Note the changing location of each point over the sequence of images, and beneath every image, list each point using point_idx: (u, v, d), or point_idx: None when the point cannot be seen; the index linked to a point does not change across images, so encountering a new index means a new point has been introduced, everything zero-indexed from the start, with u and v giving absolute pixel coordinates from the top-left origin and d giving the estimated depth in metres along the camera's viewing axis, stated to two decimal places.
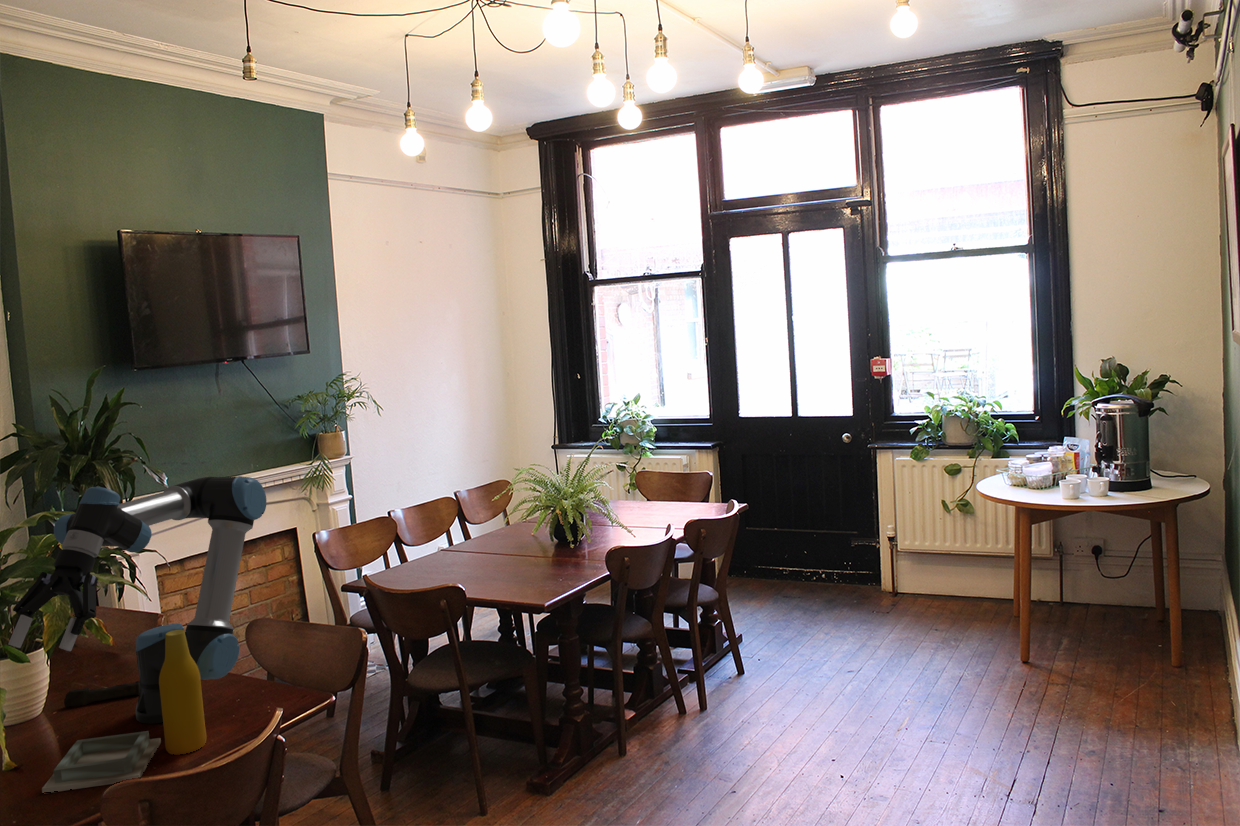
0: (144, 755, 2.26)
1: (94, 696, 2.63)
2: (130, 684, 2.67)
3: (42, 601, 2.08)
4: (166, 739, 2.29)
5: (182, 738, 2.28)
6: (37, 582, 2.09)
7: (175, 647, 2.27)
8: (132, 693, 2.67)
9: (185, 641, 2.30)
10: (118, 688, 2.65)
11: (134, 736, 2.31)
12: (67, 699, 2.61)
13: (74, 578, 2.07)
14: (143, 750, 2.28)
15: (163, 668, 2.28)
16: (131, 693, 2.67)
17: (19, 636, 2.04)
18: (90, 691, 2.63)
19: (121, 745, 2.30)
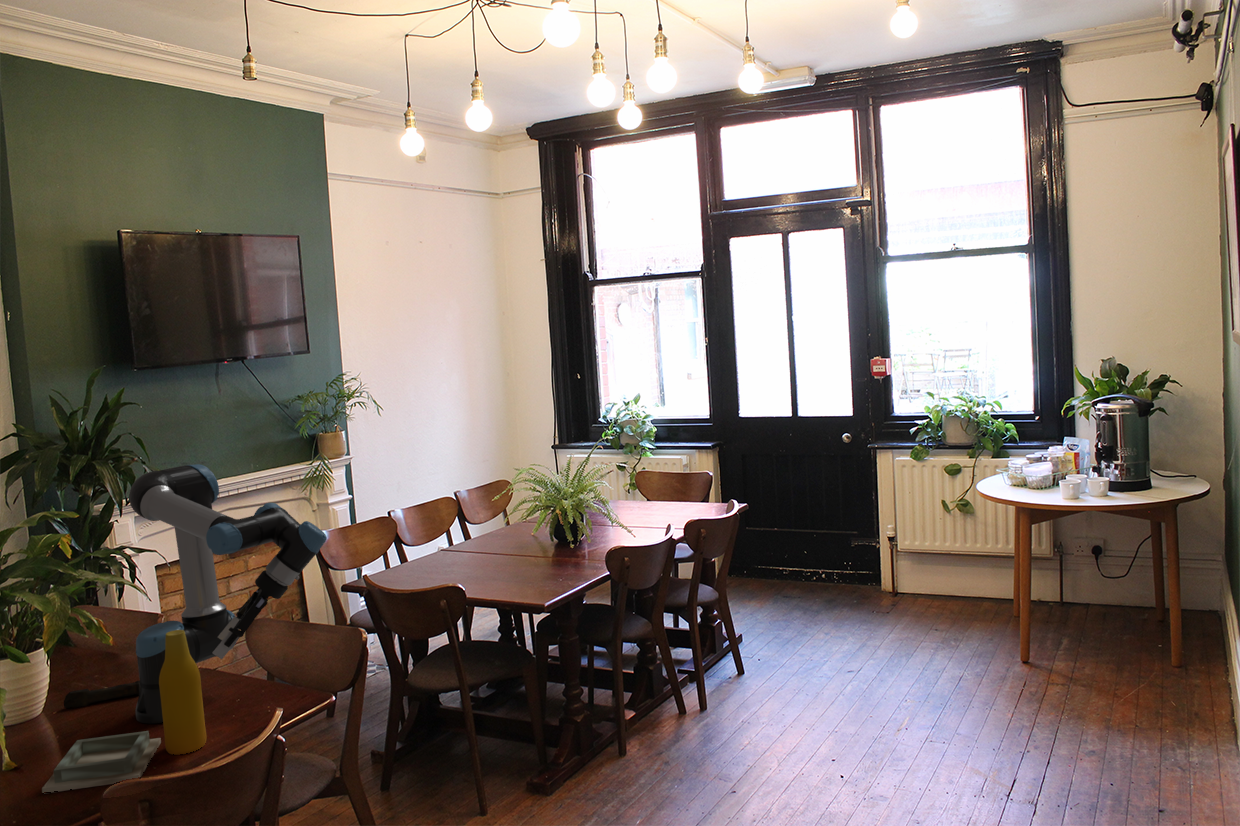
0: (144, 755, 2.26)
1: (94, 696, 2.62)
2: (130, 684, 2.67)
3: None
4: (166, 739, 2.29)
5: (182, 738, 2.28)
6: (260, 611, 2.29)
7: (175, 647, 2.27)
8: (132, 693, 2.67)
9: (185, 641, 2.30)
10: (118, 688, 2.65)
11: (134, 736, 2.31)
12: (67, 700, 2.60)
13: None
14: (143, 750, 2.28)
15: (163, 668, 2.28)
16: (131, 693, 2.67)
17: None
18: (90, 692, 2.63)
19: (121, 745, 2.30)
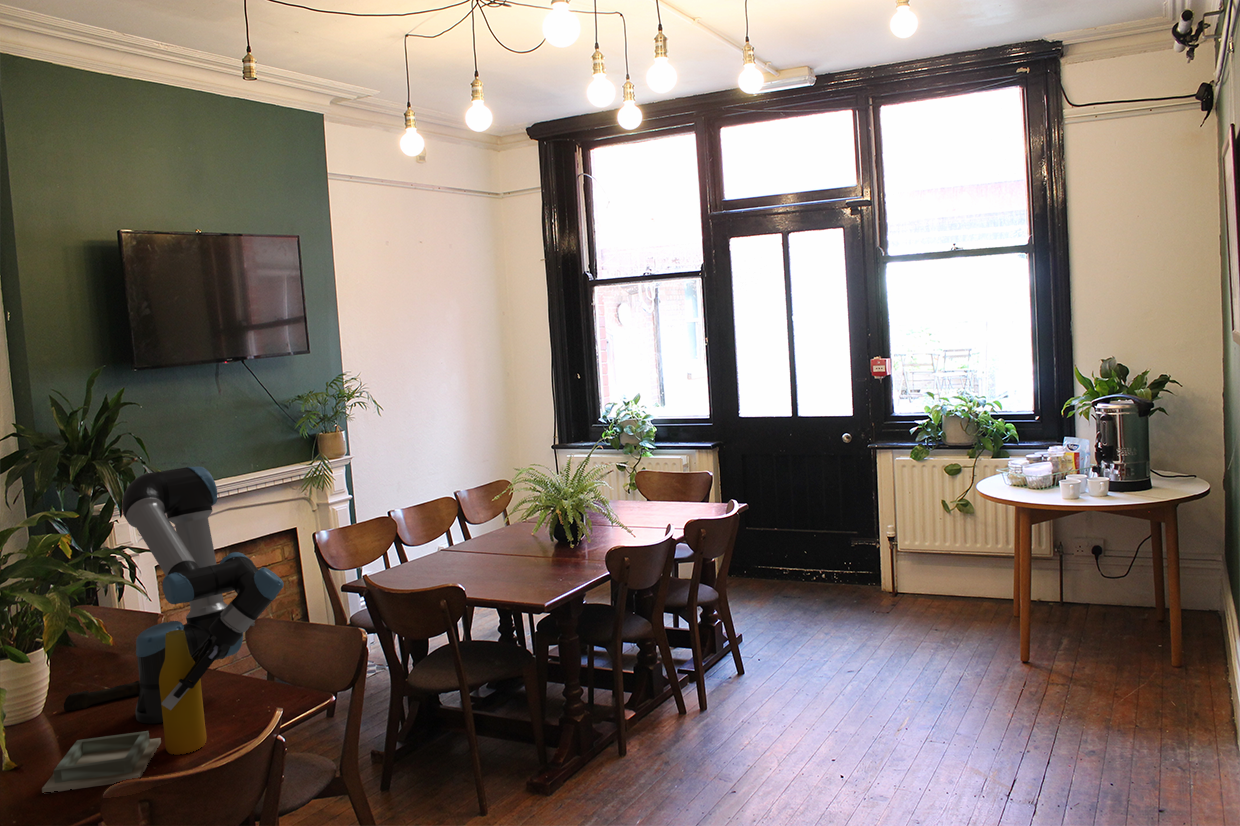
0: (144, 755, 2.26)
1: (95, 698, 2.61)
2: (130, 684, 2.67)
3: None
4: (166, 739, 2.29)
5: (182, 738, 2.28)
6: None
7: (175, 647, 2.27)
8: (133, 693, 2.67)
9: (185, 641, 2.30)
10: (119, 689, 2.65)
11: (134, 736, 2.31)
12: (67, 703, 2.58)
13: None
14: (143, 750, 2.28)
15: (163, 668, 2.28)
16: (132, 693, 2.67)
17: None
18: (90, 693, 2.61)
19: (121, 745, 2.30)
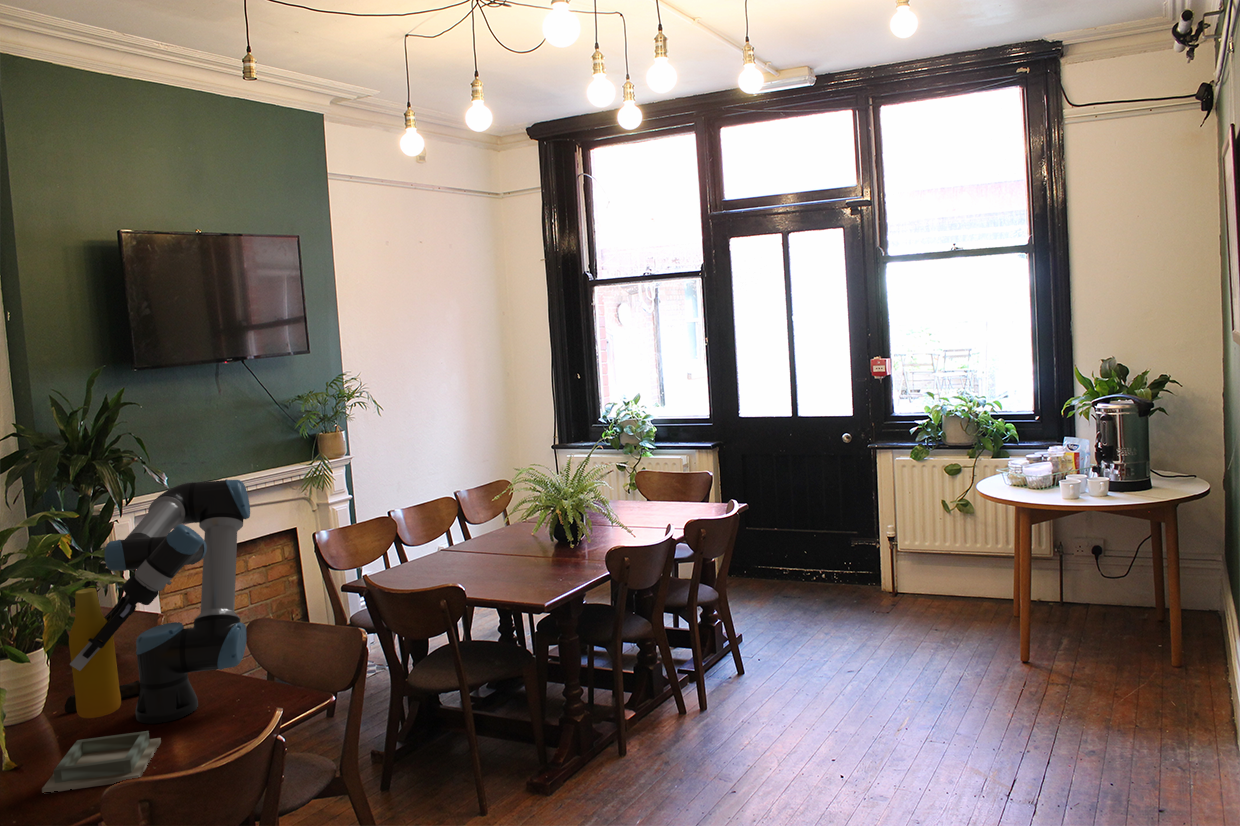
0: (144, 755, 2.26)
1: None
2: (130, 684, 2.67)
3: None
4: (77, 702, 2.19)
5: (93, 700, 2.18)
6: (124, 620, 2.18)
7: (85, 606, 2.17)
8: (134, 693, 2.67)
9: (96, 599, 2.20)
10: None
11: (134, 736, 2.31)
12: (68, 704, 2.57)
13: None
14: (143, 750, 2.28)
15: (73, 627, 2.18)
16: (133, 693, 2.67)
17: None
18: None
19: (121, 745, 2.30)
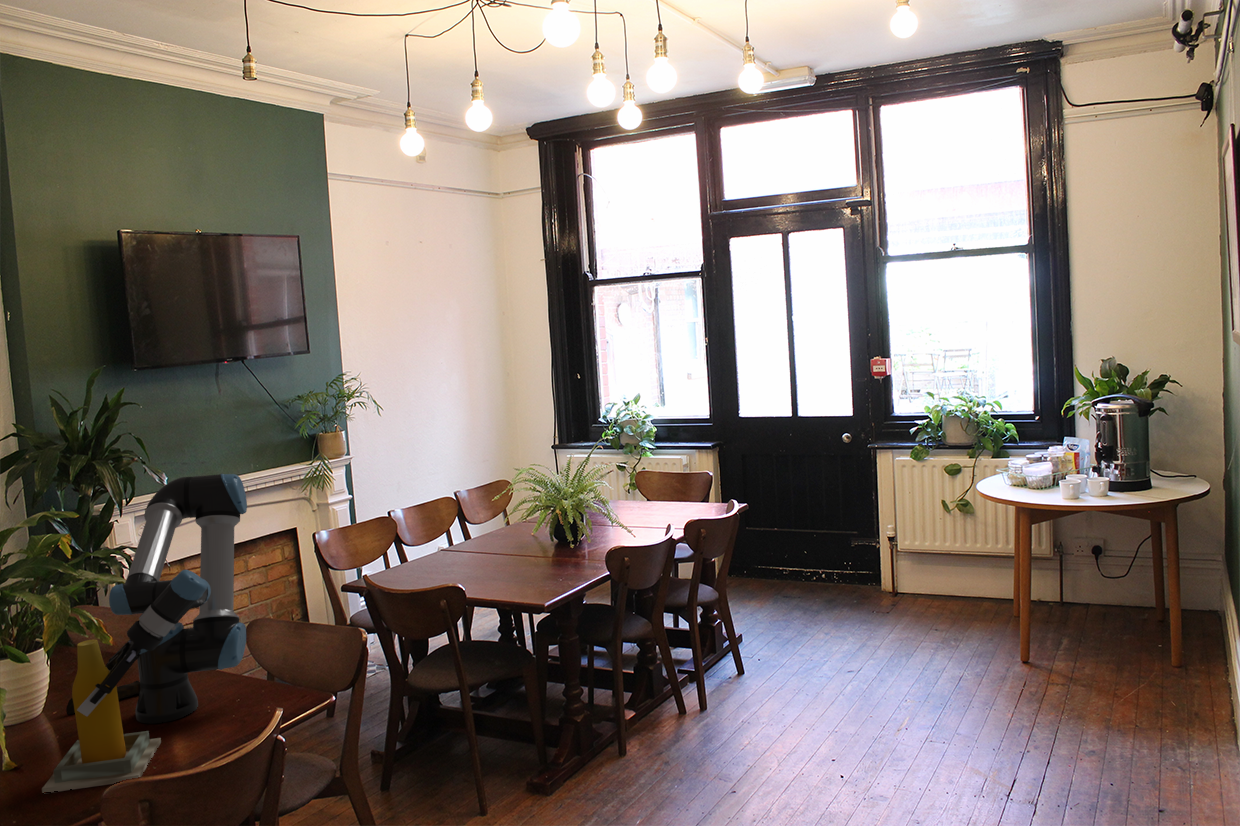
0: (144, 755, 2.26)
1: None
2: (130, 684, 2.67)
3: None
4: (82, 753, 2.20)
5: (98, 752, 2.19)
6: (130, 665, 2.18)
7: (87, 658, 2.19)
8: (134, 693, 2.67)
9: (98, 651, 2.21)
10: (120, 689, 2.64)
11: (134, 736, 2.31)
12: (70, 706, 2.56)
13: None
14: (143, 750, 2.28)
15: (75, 680, 2.19)
16: (133, 693, 2.67)
17: None
18: None
19: None
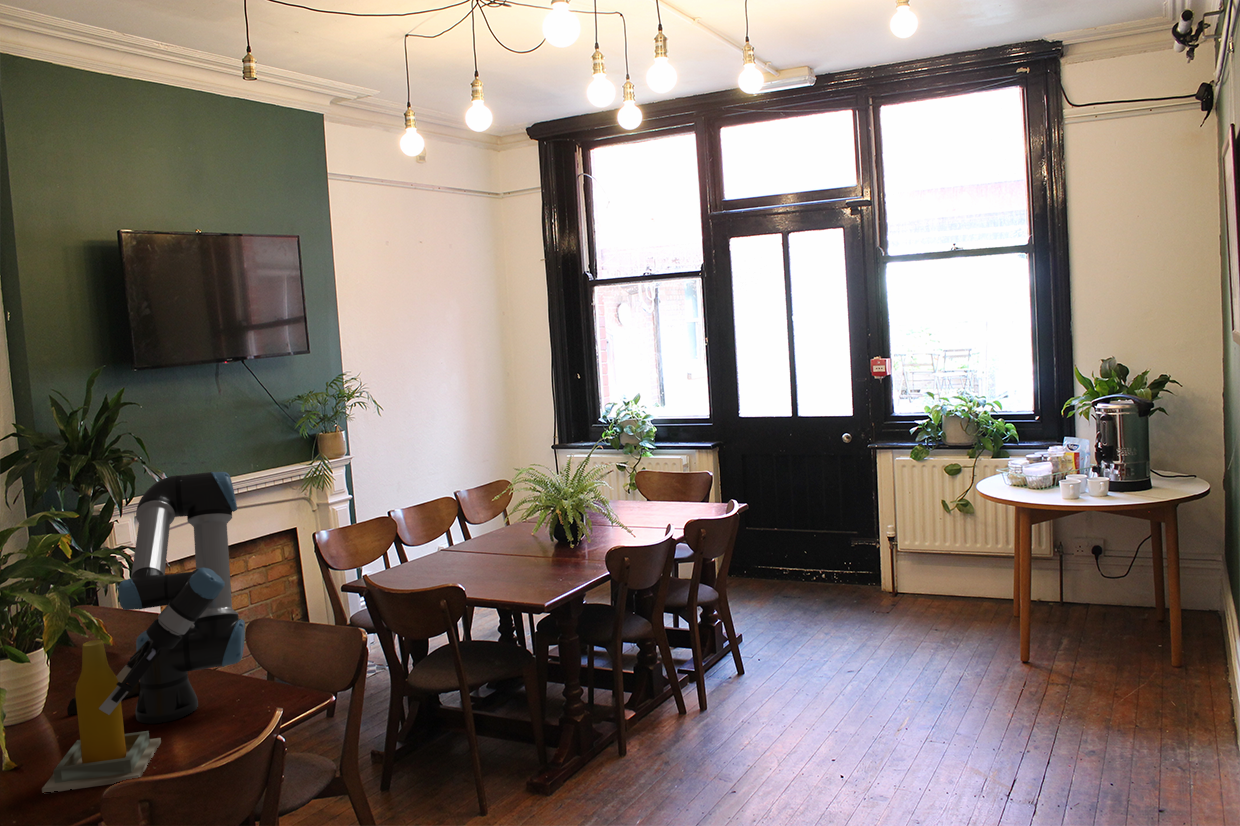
0: (144, 755, 2.26)
1: None
2: None
3: None
4: (82, 753, 2.20)
5: (99, 752, 2.19)
6: (151, 663, 2.19)
7: (92, 658, 2.19)
8: (135, 692, 2.67)
9: (103, 652, 2.21)
10: None
11: (134, 736, 2.31)
12: (72, 707, 2.55)
13: None
14: (143, 750, 2.28)
15: (79, 680, 2.19)
16: (134, 693, 2.67)
17: None
18: None
19: None
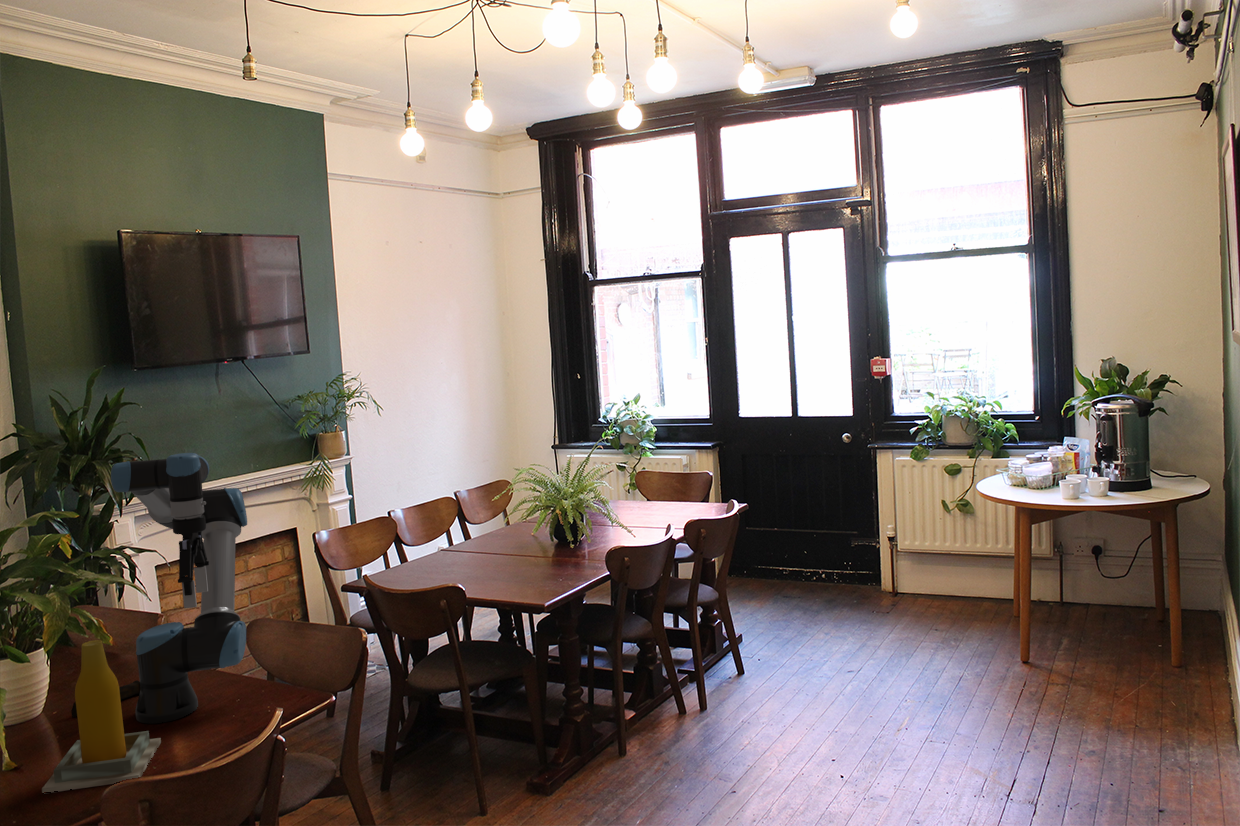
0: (144, 755, 2.26)
1: None
2: (131, 684, 2.67)
3: None
4: (82, 754, 2.20)
5: (99, 752, 2.19)
6: (190, 550, 2.29)
7: (91, 659, 2.19)
8: (135, 692, 2.67)
9: (102, 652, 2.21)
10: (122, 690, 2.64)
11: (134, 736, 2.31)
12: None
13: (197, 537, 2.38)
14: (143, 750, 2.28)
15: (79, 680, 2.19)
16: (135, 692, 2.67)
17: None
18: None
19: None
